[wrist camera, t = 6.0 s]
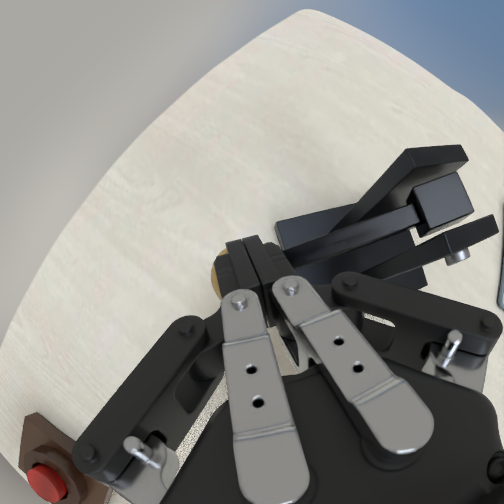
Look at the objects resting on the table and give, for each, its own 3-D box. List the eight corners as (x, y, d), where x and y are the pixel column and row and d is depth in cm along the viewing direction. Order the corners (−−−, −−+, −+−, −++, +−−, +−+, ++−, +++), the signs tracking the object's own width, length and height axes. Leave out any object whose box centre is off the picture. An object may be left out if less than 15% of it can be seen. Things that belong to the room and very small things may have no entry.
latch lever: (237, 314, 17) (208, 319, 14) (222, 258, 18) (191, 251, 15) (461, 235, 13) (484, 222, 10) (437, 178, 14) (453, 152, 10)
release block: (28, 461, 17) (8, 472, 13) (37, 411, 18) (13, 419, 15) (104, 514, 16) (89, 532, 12) (120, 469, 18) (104, 488, 14)
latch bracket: (306, 331, 22) (396, 337, 9) (274, 226, 24) (314, 118, 11) (421, 287, 24) (536, 250, 10) (389, 199, 26) (476, 116, 12)
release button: (35, 479, 13) (25, 485, 12) (38, 456, 14) (27, 462, 13) (65, 501, 13) (56, 509, 12) (69, 480, 14) (60, 488, 12)
